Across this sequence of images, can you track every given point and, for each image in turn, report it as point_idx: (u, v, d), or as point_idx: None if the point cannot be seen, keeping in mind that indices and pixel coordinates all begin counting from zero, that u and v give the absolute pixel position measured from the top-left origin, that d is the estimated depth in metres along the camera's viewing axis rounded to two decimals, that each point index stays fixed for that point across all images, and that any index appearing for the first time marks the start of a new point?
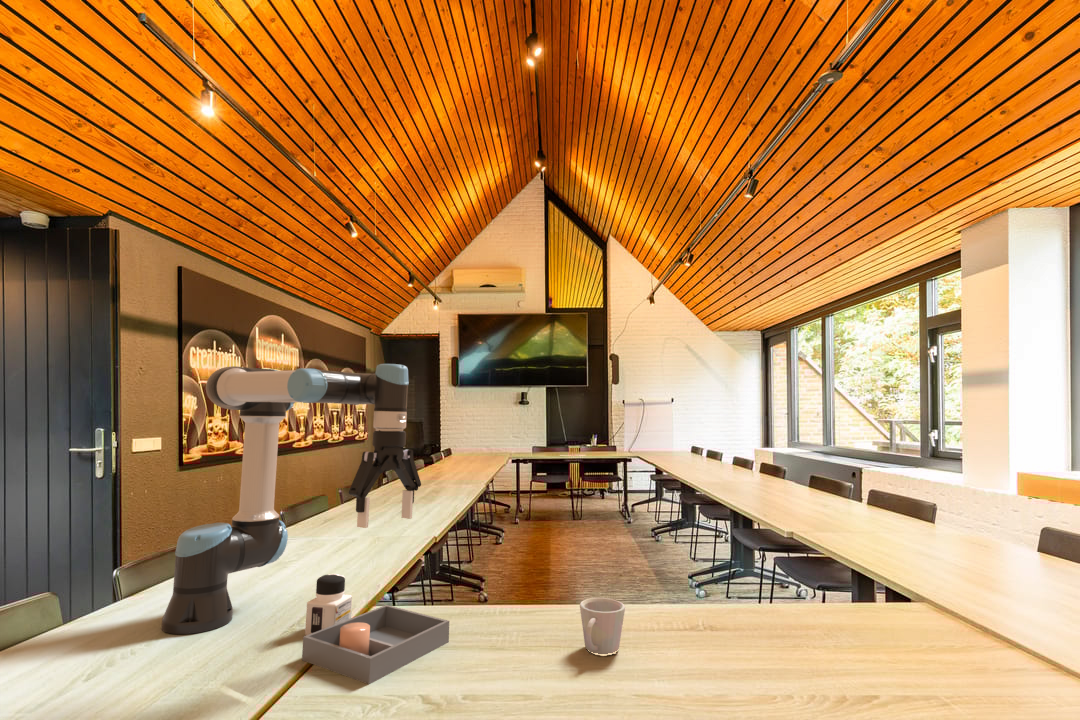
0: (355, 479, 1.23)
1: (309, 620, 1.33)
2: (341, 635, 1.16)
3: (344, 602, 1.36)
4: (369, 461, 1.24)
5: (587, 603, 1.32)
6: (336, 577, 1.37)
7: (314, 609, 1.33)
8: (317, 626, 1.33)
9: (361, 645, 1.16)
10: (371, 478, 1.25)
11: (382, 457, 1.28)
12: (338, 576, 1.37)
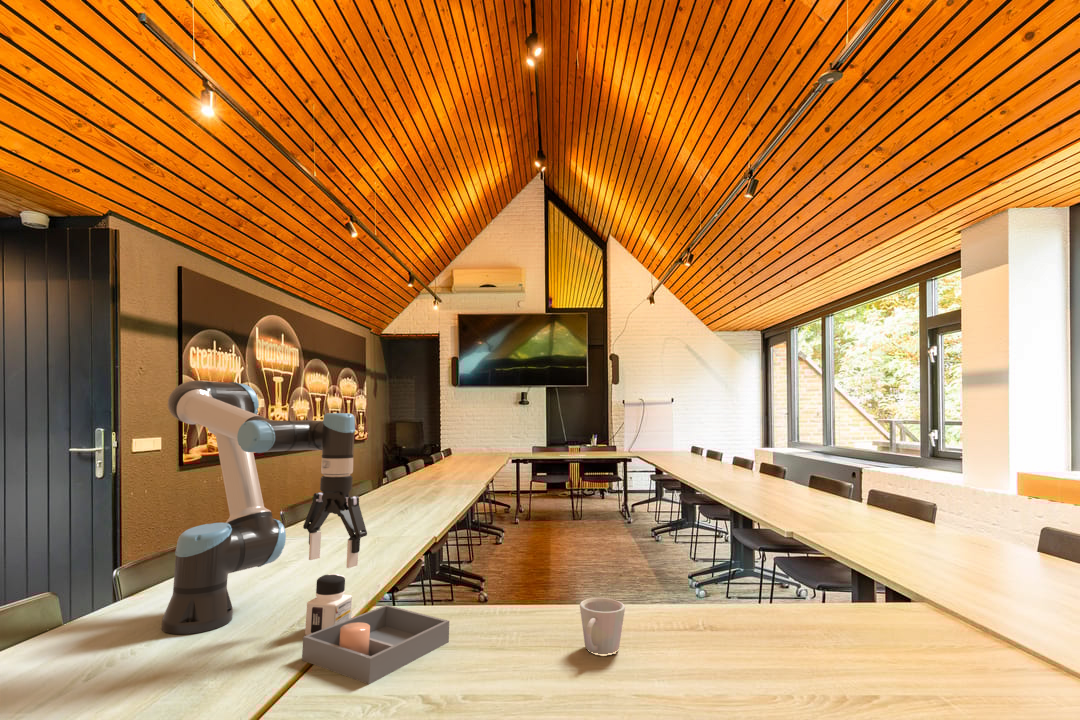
0: None
1: (309, 620, 1.33)
2: (341, 635, 1.16)
3: (344, 602, 1.36)
4: (313, 501, 1.41)
5: (587, 603, 1.32)
6: (336, 577, 1.37)
7: (314, 609, 1.33)
8: (317, 626, 1.33)
9: (361, 645, 1.16)
10: None
11: (324, 499, 1.40)
12: (338, 576, 1.37)
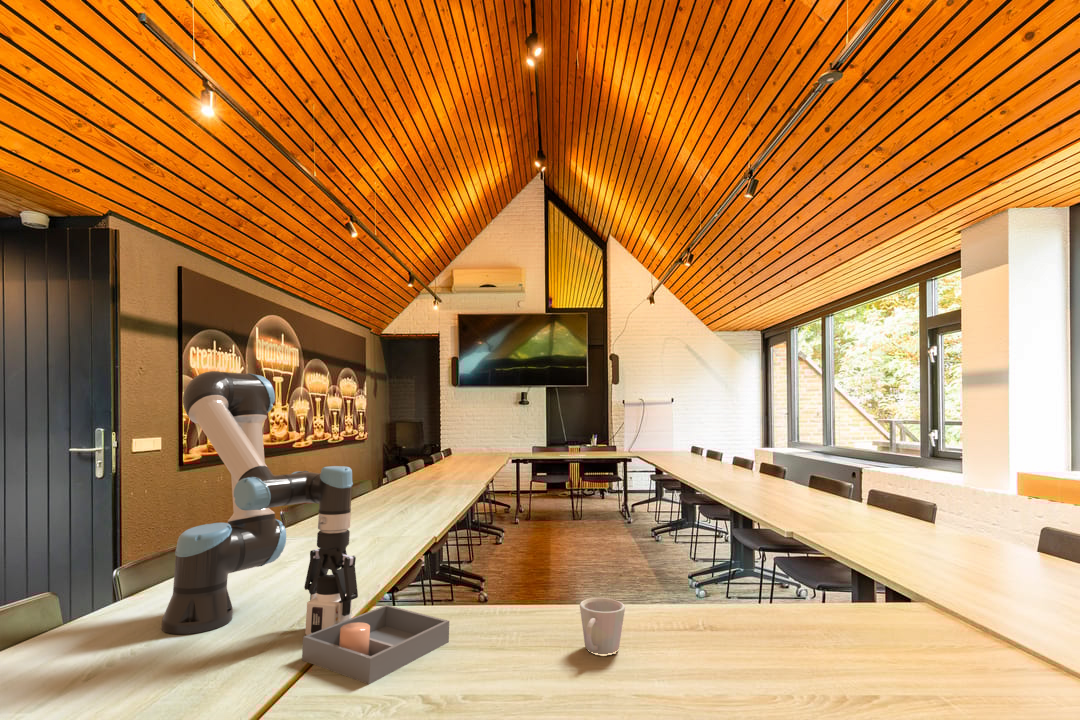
0: None
1: (309, 620, 1.33)
2: (341, 635, 1.16)
3: None
4: (310, 559, 1.40)
5: (587, 603, 1.32)
6: None
7: (314, 609, 1.33)
8: (317, 626, 1.33)
9: (361, 645, 1.16)
10: None
11: (321, 554, 1.38)
12: None
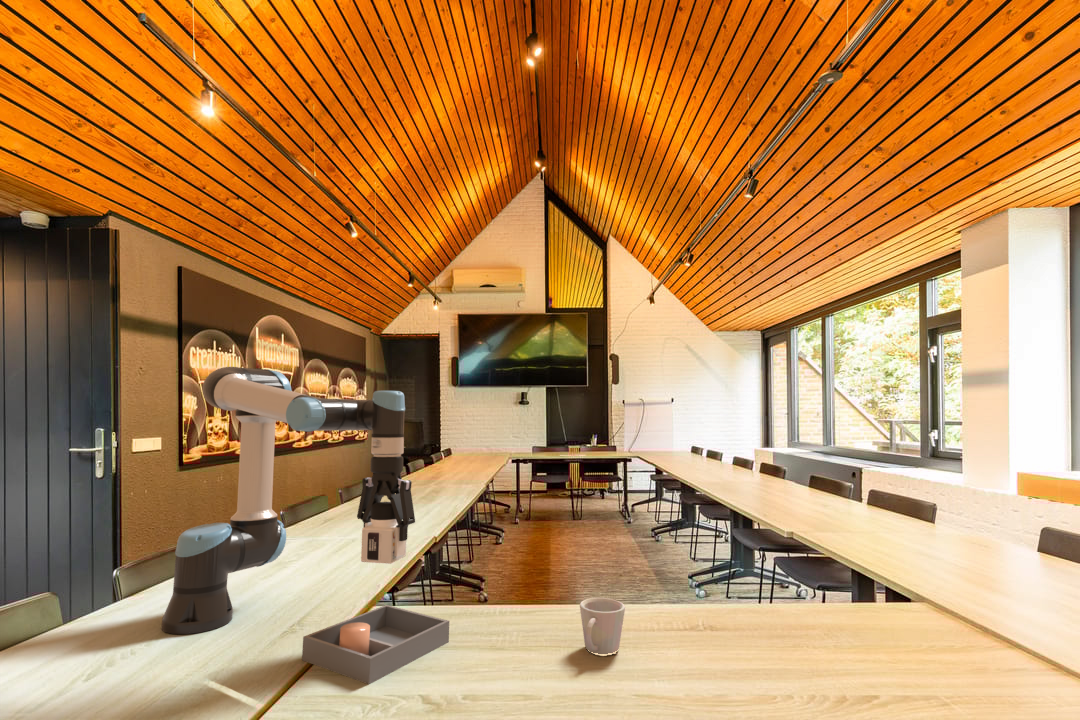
0: None
1: (365, 546, 1.28)
2: (341, 635, 1.16)
3: None
4: (363, 487, 1.35)
5: (587, 603, 1.32)
6: None
7: (370, 535, 1.28)
8: (373, 552, 1.27)
9: (361, 645, 1.16)
10: None
11: (374, 481, 1.33)
12: None
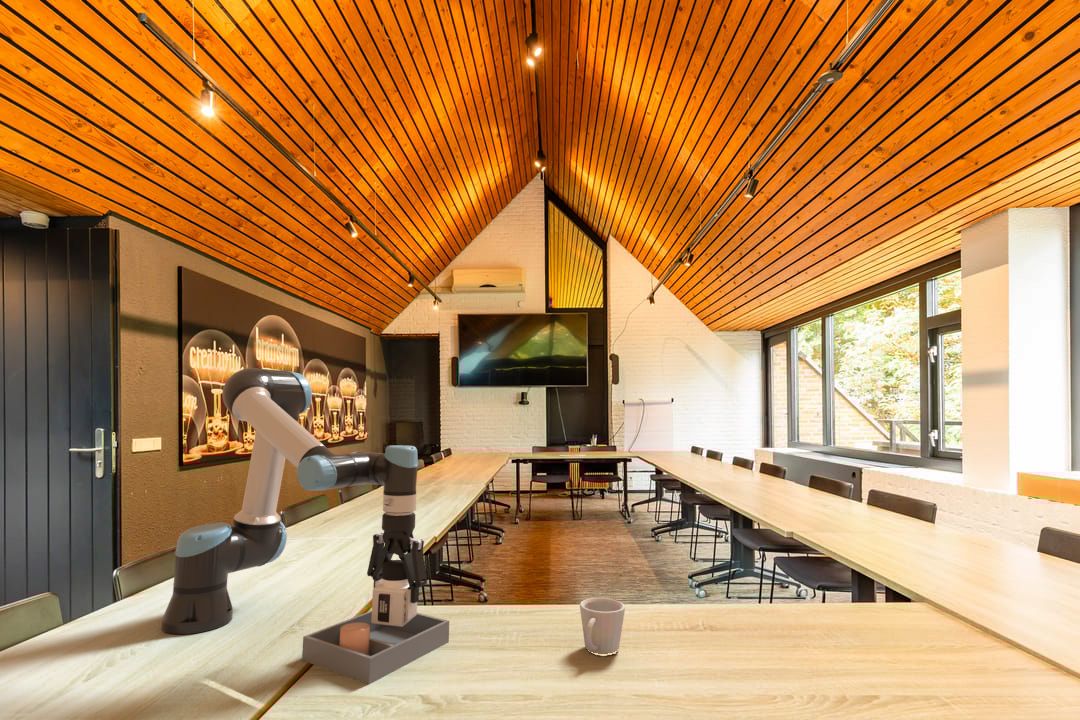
0: None
1: (375, 607, 1.25)
2: (341, 635, 1.16)
3: None
4: (373, 543, 1.32)
5: (587, 603, 1.32)
6: None
7: (380, 596, 1.25)
8: (384, 614, 1.25)
9: (361, 645, 1.16)
10: None
11: (385, 538, 1.30)
12: None
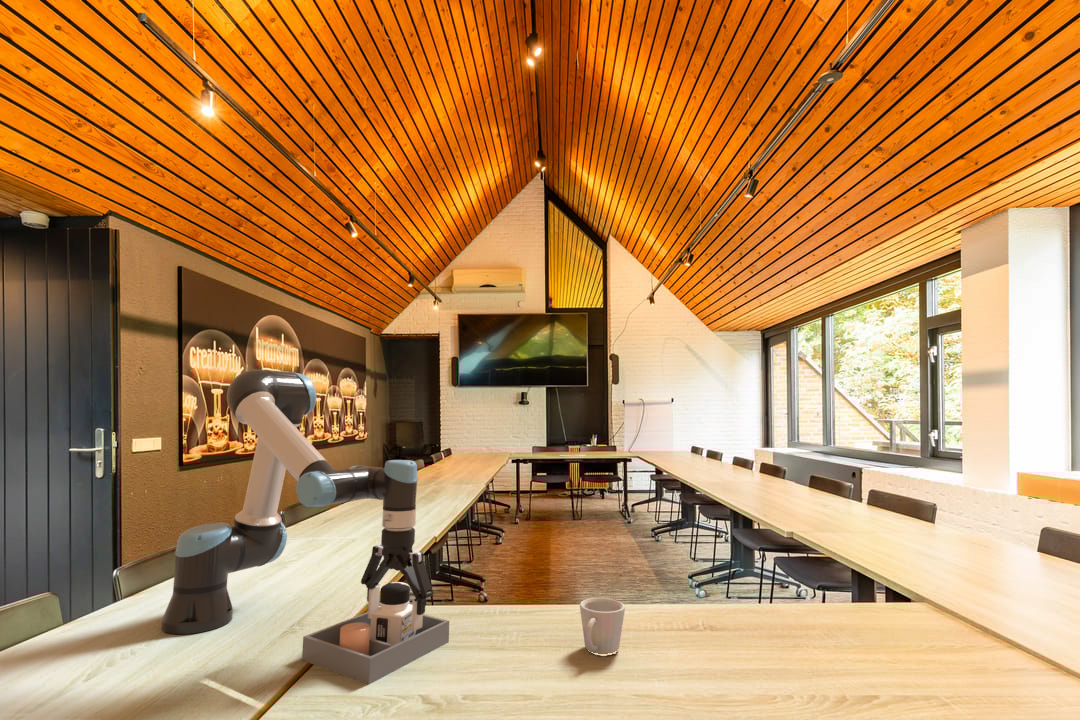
0: None
1: (374, 631, 1.25)
2: (341, 635, 1.16)
3: (409, 613, 1.27)
4: (372, 554, 1.32)
5: (587, 603, 1.32)
6: (401, 585, 1.28)
7: (378, 620, 1.25)
8: (382, 638, 1.24)
9: (361, 645, 1.16)
10: None
11: (384, 554, 1.30)
12: (403, 585, 1.29)
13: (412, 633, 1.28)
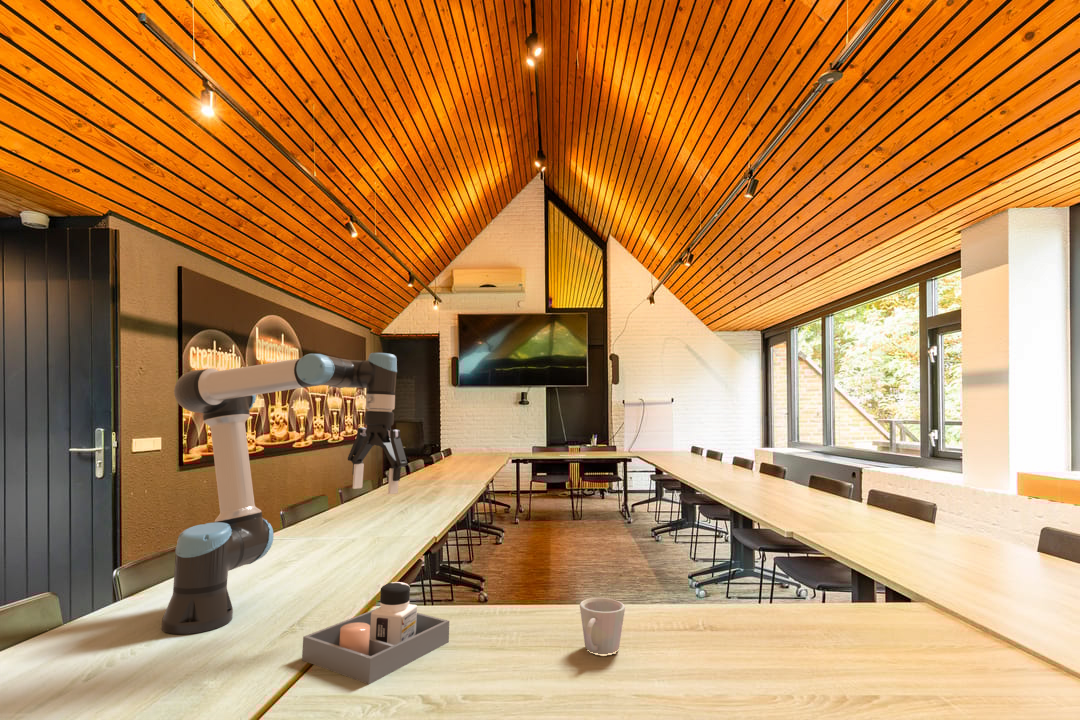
0: None
1: (374, 631, 1.25)
2: (341, 635, 1.16)
3: (409, 613, 1.27)
4: (357, 434, 1.52)
5: (587, 603, 1.32)
6: (401, 585, 1.28)
7: (378, 620, 1.25)
8: (382, 638, 1.24)
9: (361, 645, 1.16)
10: None
11: (367, 433, 1.50)
12: (403, 585, 1.29)
13: (412, 633, 1.28)
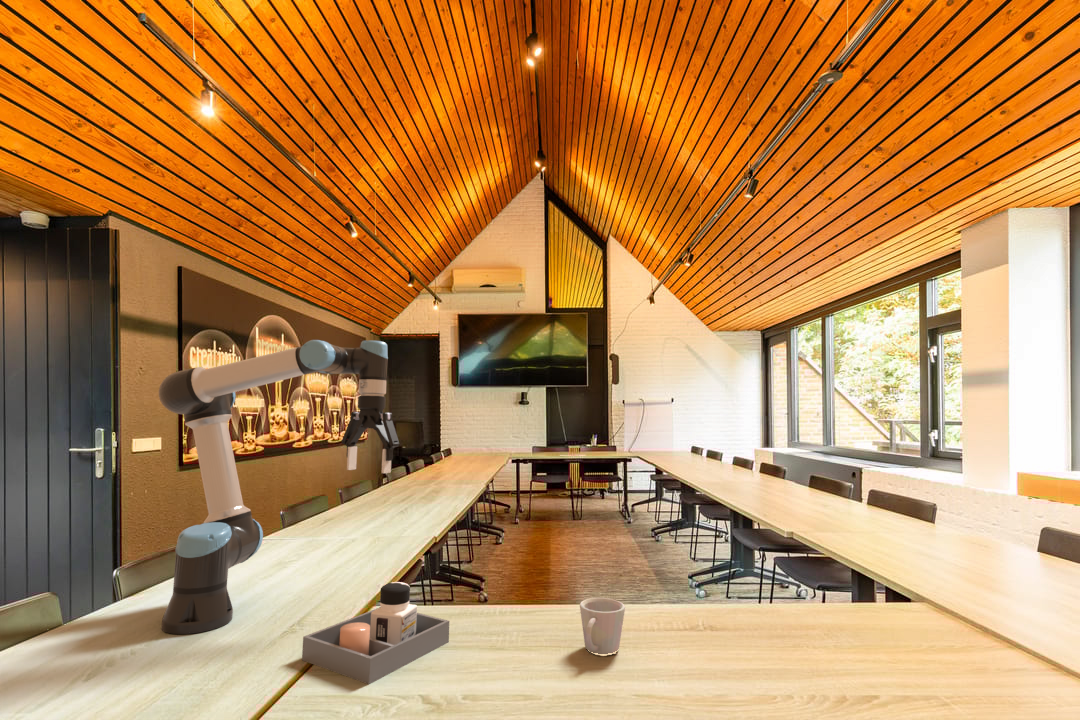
0: None
1: (374, 631, 1.25)
2: (341, 635, 1.16)
3: (409, 613, 1.27)
4: (350, 419, 1.60)
5: (587, 603, 1.32)
6: (401, 585, 1.28)
7: (378, 620, 1.25)
8: (382, 638, 1.24)
9: (361, 645, 1.16)
10: None
11: (360, 417, 1.58)
12: (403, 585, 1.29)
13: (412, 633, 1.28)
